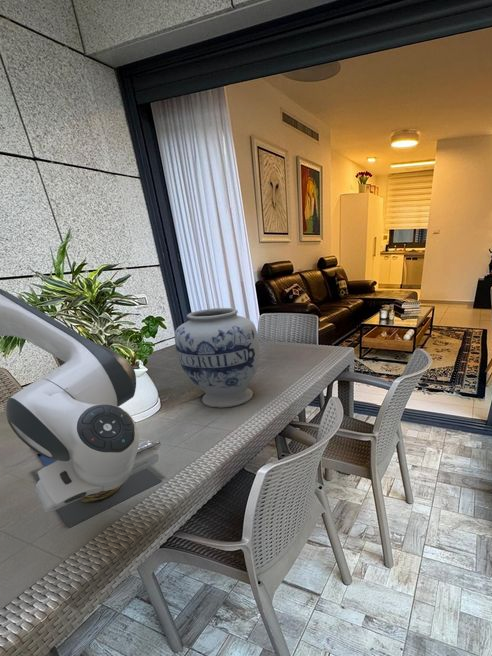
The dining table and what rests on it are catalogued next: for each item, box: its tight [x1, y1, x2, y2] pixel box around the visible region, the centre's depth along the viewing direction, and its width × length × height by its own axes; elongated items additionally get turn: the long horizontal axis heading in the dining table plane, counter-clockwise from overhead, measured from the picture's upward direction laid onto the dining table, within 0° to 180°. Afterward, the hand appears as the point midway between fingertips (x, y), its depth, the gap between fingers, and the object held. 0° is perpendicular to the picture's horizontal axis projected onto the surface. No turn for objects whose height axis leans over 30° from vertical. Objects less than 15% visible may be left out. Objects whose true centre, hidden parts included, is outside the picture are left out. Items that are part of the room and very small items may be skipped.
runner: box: [33, 467, 163, 529], centre depth 86 cm, size 20×28×1 cm
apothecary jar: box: [174, 307, 261, 409], centre depth 119 cm, size 27×27×30 cm
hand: (102, 485), depth 71 cm, fingers closed
